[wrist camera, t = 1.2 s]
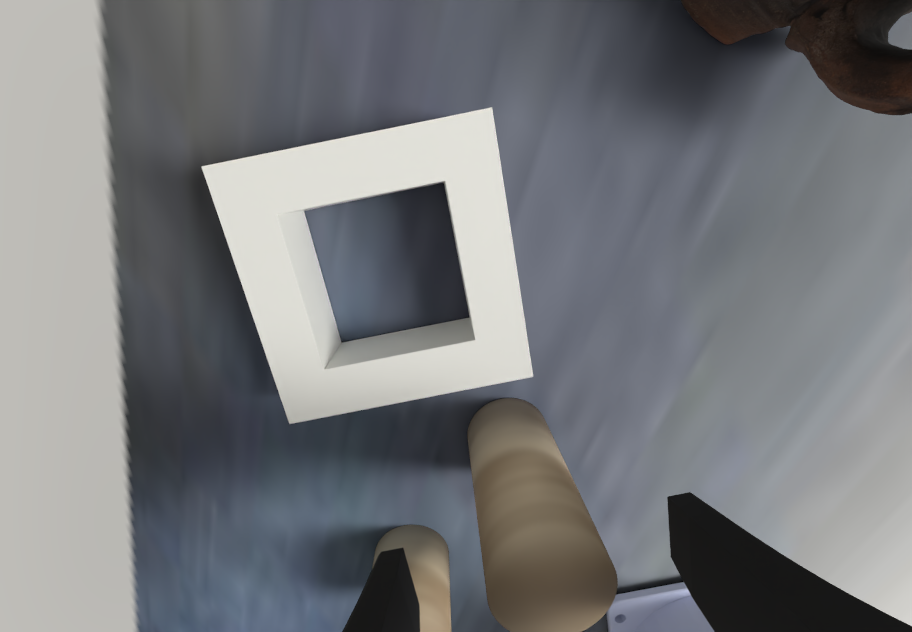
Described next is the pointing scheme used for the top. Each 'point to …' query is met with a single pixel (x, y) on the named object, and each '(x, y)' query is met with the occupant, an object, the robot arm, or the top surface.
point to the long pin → (534, 526)
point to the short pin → (424, 572)
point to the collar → (303, 289)
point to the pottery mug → (827, 42)
